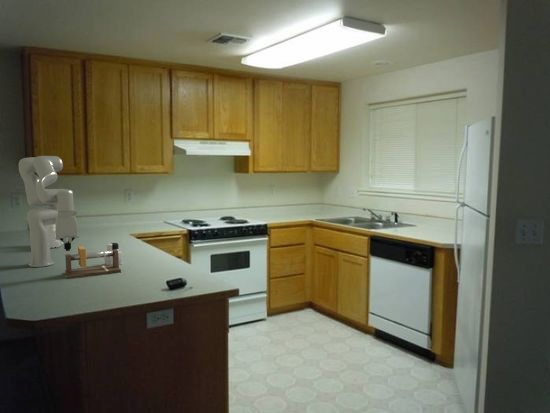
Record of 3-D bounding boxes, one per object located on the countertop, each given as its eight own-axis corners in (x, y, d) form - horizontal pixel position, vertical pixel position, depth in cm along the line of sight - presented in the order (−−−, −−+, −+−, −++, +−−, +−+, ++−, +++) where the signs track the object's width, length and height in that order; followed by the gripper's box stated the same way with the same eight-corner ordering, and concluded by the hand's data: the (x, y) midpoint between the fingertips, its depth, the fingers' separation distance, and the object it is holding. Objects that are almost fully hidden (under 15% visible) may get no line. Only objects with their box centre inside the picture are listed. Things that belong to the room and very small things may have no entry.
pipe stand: (65, 272, 239) (64, 252, 238) (115, 266, 252) (114, 247, 251) (68, 278, 226) (67, 257, 225) (120, 272, 239) (120, 252, 238)
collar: (78, 263, 239) (77, 246, 238) (83, 263, 240) (82, 246, 240) (81, 267, 231) (80, 249, 231) (86, 266, 233) (85, 249, 232)
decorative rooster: (40, 245, 317) (38, 210, 315) (65, 244, 323) (63, 209, 321) (35, 252, 294) (33, 213, 292) (62, 250, 300) (60, 212, 297)
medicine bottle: (116, 262, 263) (115, 241, 262) (122, 264, 258) (121, 243, 257) (104, 264, 258) (103, 243, 257) (110, 266, 253) (109, 244, 252)
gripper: (80, 212, 237) (82, 248, 239) (48, 214, 230) (50, 251, 231) (83, 214, 231) (84, 250, 232) (50, 216, 223) (52, 253, 225)
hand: (67, 250), depth 232 cm, fingers closed
